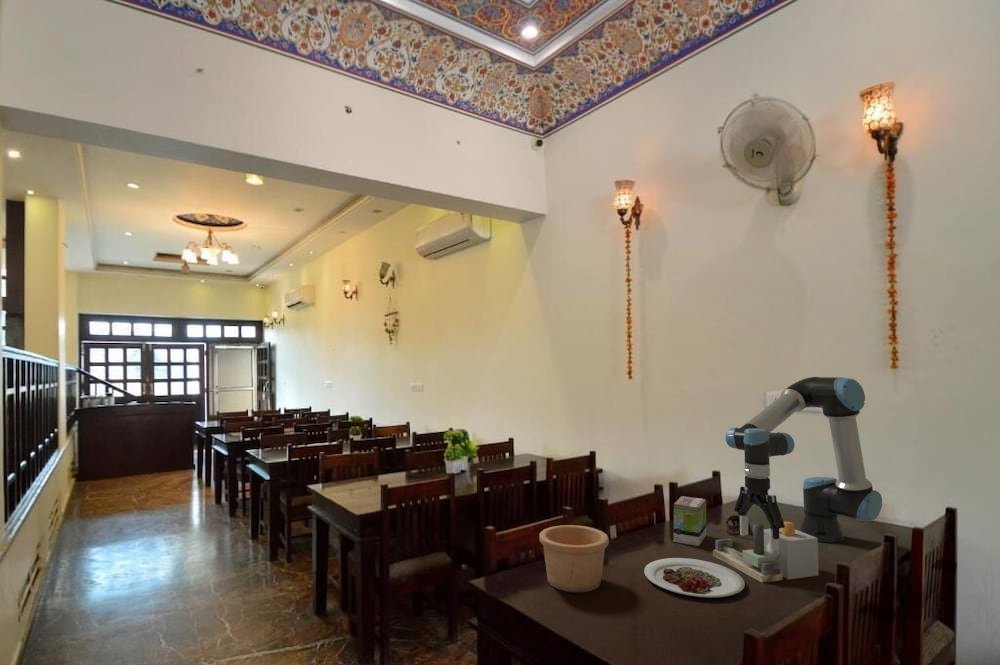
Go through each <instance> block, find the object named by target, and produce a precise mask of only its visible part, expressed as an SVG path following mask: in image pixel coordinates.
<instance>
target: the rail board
mask: <svg viewBox="0 0 1000 665" xmlns="http://www.w3.org/2000/svg"><path fill="white" fill-rule="evenodd" d="M714 542H715V545H714V546H715V549H713V550H712V556H713V557H715V558H716V559H718V560H720V561H722V562H724V563H725V564H728V565H729V566H730V567H733V568H734V569H737V570H738V571H740V572H742V573H744V574H745V575H748V576H749V577H751V578H752V579H754V580H757V582H758V581H759V582H760V583H763V584H764V583H769V582H770V583H771V582H777V581H778V582H779V581H783V580H784V577H783V573H781V572H780V563H779V562H777V561H772V562H763V563H761V567H756V566H754V565H752V564H750V563H748V562H746V561H744V560H743V555H742V552H741V551H738V550H737V549H735V548H733V539H732V538H729V537H728V538H719V539H715V540H714Z"/></svg>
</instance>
